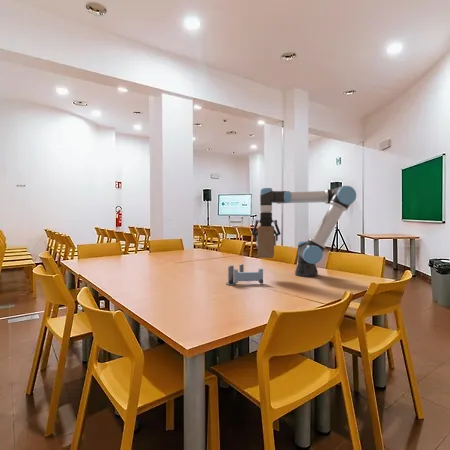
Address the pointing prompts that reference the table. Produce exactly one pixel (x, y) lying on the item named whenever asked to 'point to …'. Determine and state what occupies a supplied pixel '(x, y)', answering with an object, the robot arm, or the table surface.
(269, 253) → the wooden block
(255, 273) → the grey i-beam block
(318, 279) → the table surface
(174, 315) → the table surface
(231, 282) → the gate posts
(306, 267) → the robot arm
